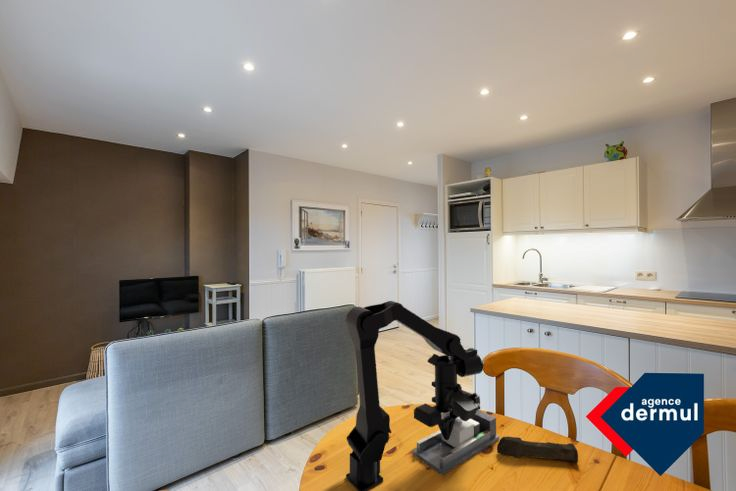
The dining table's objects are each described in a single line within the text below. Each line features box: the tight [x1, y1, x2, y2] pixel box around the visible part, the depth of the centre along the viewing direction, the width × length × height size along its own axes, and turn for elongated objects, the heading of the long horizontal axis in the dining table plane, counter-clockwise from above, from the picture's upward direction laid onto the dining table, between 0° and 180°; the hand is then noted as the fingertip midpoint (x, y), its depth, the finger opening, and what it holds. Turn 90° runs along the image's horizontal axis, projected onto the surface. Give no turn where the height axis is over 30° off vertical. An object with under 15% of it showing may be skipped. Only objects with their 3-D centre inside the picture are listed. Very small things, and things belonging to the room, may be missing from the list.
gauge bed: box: [412, 409, 500, 476], centre depth 88 cm, size 24×10×6 cm, turn 127°
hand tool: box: [496, 436, 579, 465], centre depth 84 cm, size 19×4×5 cm, turn 79°
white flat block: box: [468, 419, 480, 437], centre depth 91 cm, size 2×6×4 cm, turn 37°
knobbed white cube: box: [442, 417, 474, 448], centre depth 88 cm, size 6×6×5 cm
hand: (446, 439), depth 85 cm, fingers closed
